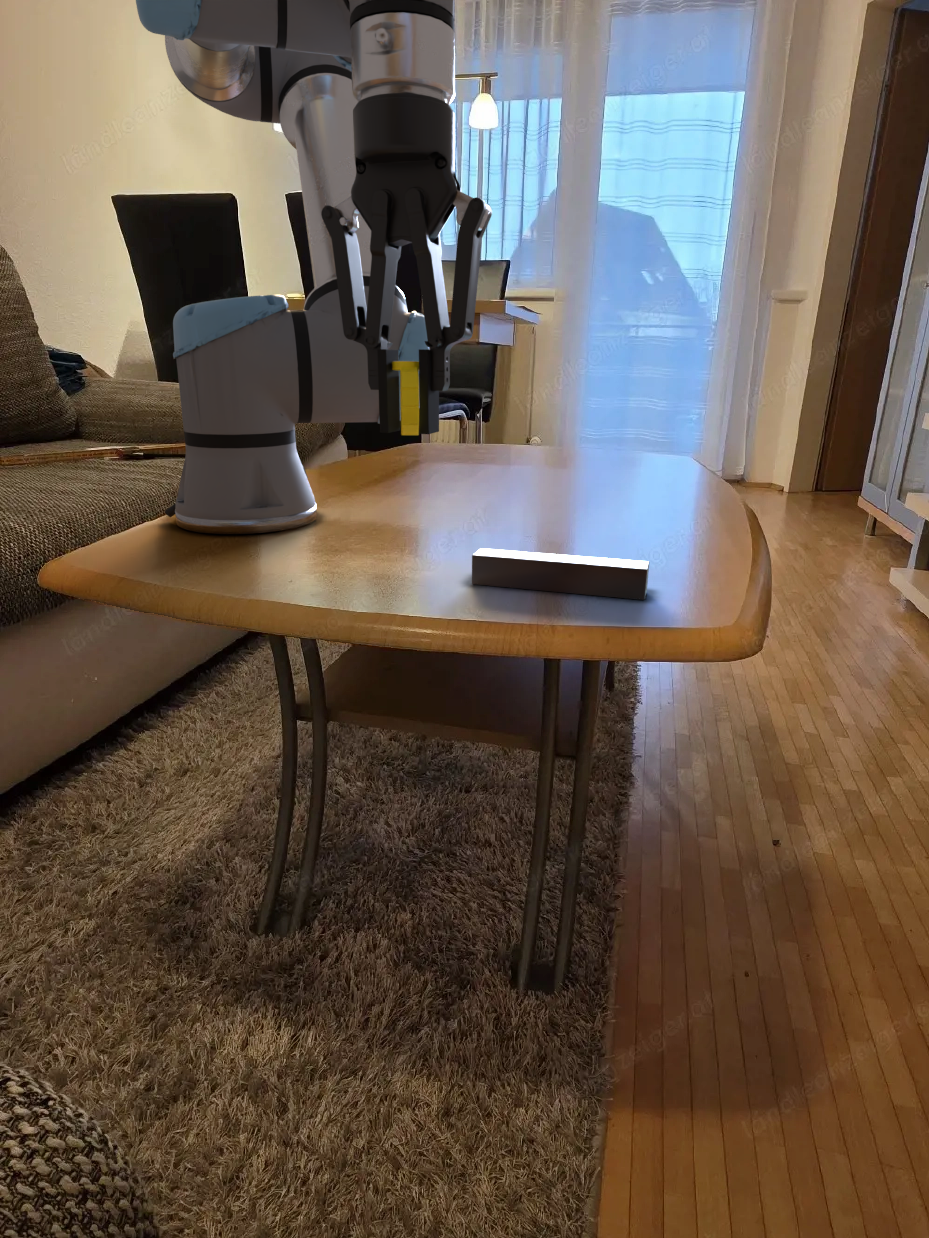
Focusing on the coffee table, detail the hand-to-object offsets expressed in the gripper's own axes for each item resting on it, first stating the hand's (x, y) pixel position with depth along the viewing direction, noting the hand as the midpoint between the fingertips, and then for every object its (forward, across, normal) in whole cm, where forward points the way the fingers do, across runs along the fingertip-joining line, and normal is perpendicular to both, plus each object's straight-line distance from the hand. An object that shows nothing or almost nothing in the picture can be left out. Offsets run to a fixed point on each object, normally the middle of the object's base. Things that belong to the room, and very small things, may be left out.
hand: (409, 431), depth 63 cm
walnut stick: (+12, +13, -2) cm, 18 cm away
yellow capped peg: (+1, 0, 0) cm, 1 cm away
